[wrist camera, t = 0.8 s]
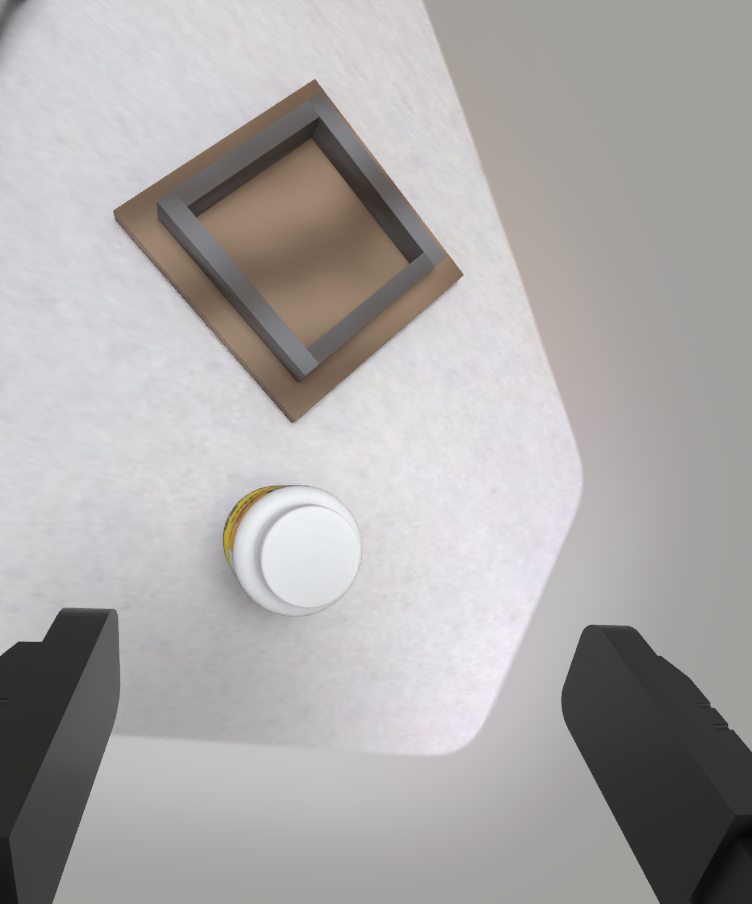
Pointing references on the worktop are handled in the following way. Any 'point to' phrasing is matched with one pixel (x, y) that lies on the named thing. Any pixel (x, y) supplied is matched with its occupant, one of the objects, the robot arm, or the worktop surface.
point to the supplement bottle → (293, 548)
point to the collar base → (292, 247)
